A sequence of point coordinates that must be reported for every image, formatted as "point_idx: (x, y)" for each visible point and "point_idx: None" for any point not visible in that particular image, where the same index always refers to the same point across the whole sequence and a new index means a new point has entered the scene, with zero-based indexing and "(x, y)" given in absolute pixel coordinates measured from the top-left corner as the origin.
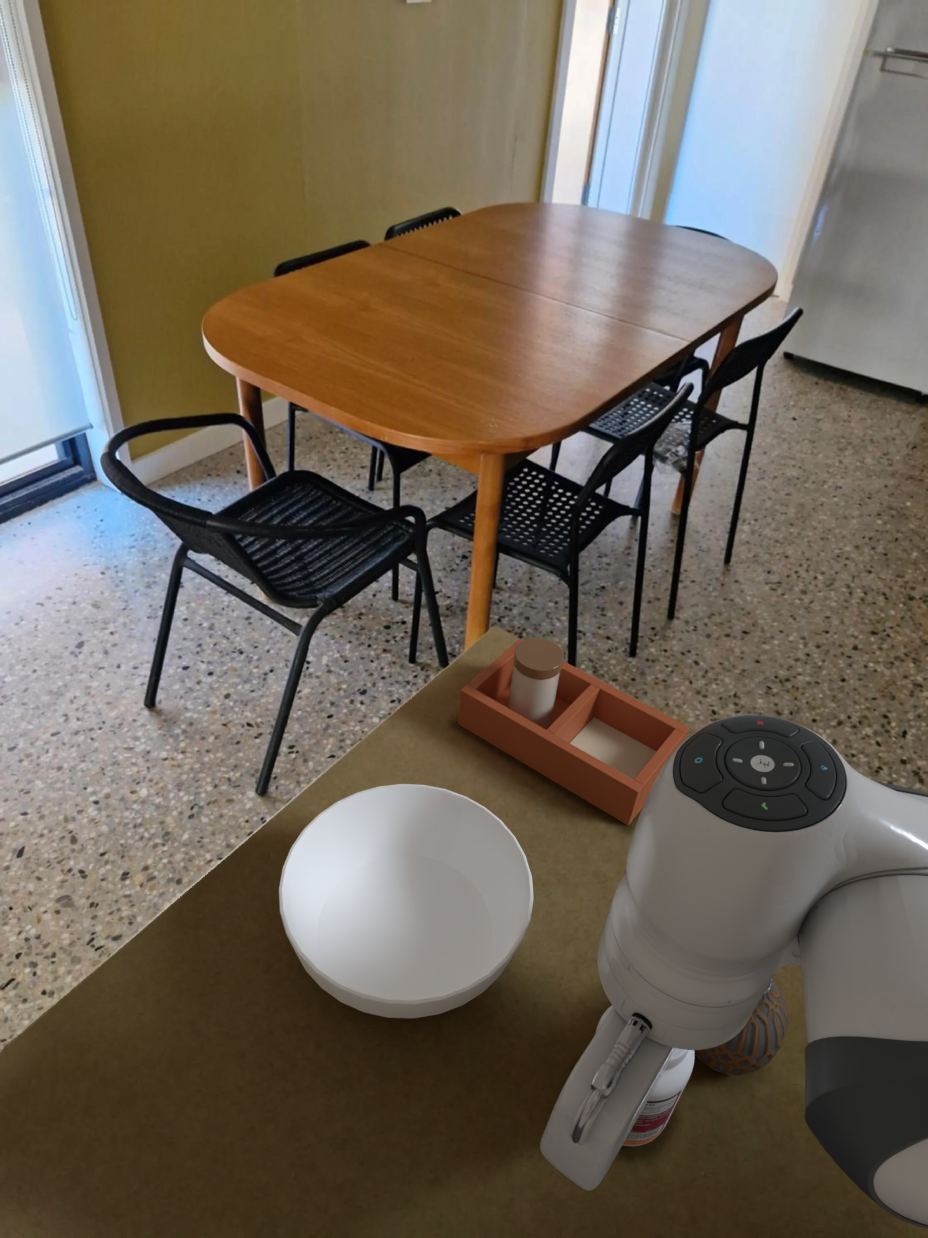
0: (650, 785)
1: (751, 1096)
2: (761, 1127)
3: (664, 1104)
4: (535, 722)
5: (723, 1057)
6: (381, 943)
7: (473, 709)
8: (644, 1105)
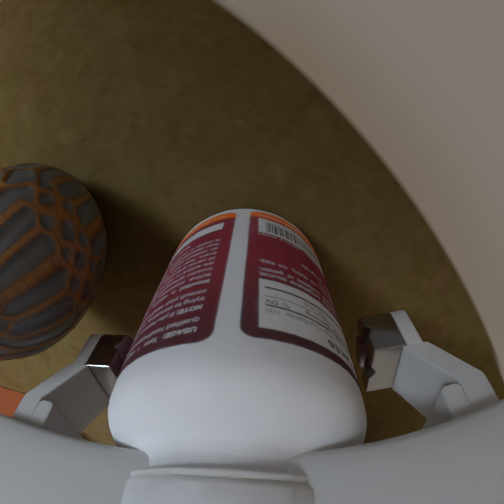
0: (4, 411)
1: (84, 141)
2: (108, 101)
3: (302, 322)
4: None
5: (70, 234)
6: None
7: None
8: (472, 465)
